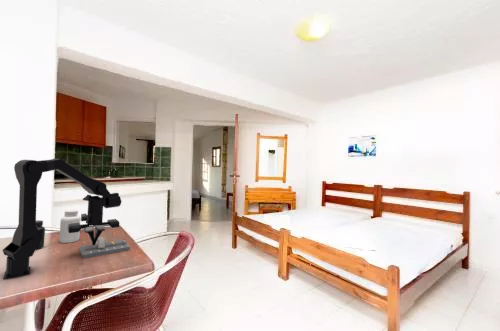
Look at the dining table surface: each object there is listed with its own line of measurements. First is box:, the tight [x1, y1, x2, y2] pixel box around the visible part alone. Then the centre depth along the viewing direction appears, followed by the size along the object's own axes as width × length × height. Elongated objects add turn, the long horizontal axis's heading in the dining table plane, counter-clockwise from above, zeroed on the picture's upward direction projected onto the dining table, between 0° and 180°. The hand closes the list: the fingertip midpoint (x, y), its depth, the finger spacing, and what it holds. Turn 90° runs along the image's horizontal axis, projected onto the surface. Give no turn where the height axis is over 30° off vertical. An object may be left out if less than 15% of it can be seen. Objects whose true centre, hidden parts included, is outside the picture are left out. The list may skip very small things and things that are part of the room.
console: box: [78, 239, 131, 259], centre depth 107 cm, size 12×18×3 cm, turn 132°
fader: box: [96, 236, 106, 249], centre depth 106 cm, size 5×2×4 cm, turn 42°
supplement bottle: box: [35, 219, 46, 251], centre depth 105 cm, size 7×7×12 cm
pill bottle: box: [58, 209, 81, 244], centre depth 117 cm, size 8×8×15 cm
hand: (93, 244), depth 104 cm, fingers closed
